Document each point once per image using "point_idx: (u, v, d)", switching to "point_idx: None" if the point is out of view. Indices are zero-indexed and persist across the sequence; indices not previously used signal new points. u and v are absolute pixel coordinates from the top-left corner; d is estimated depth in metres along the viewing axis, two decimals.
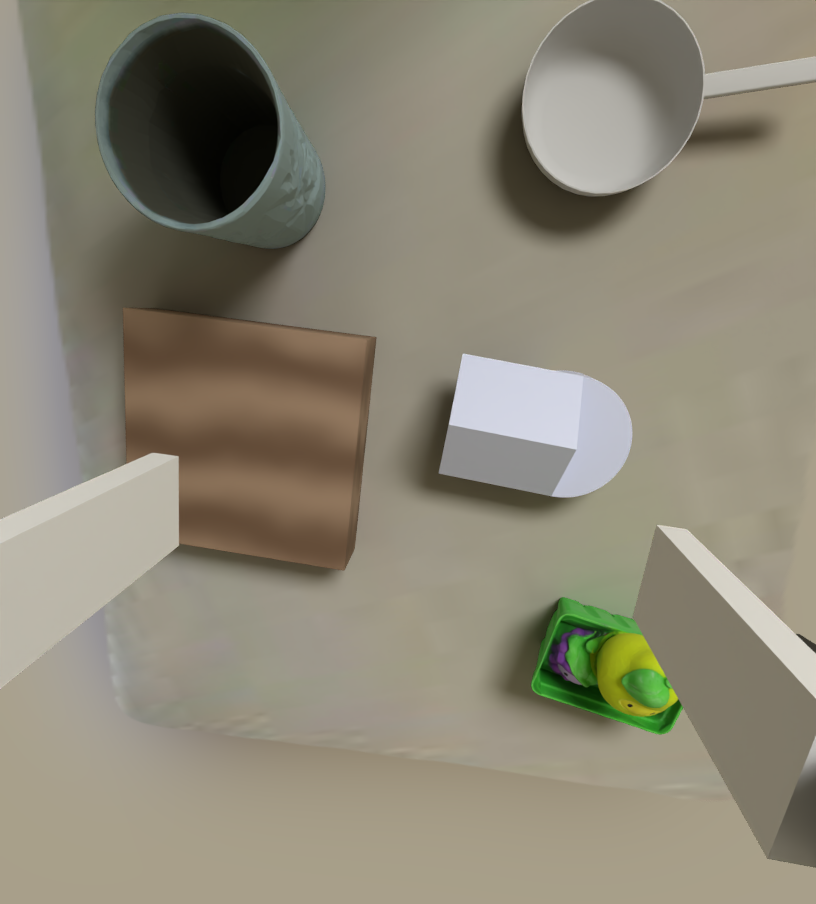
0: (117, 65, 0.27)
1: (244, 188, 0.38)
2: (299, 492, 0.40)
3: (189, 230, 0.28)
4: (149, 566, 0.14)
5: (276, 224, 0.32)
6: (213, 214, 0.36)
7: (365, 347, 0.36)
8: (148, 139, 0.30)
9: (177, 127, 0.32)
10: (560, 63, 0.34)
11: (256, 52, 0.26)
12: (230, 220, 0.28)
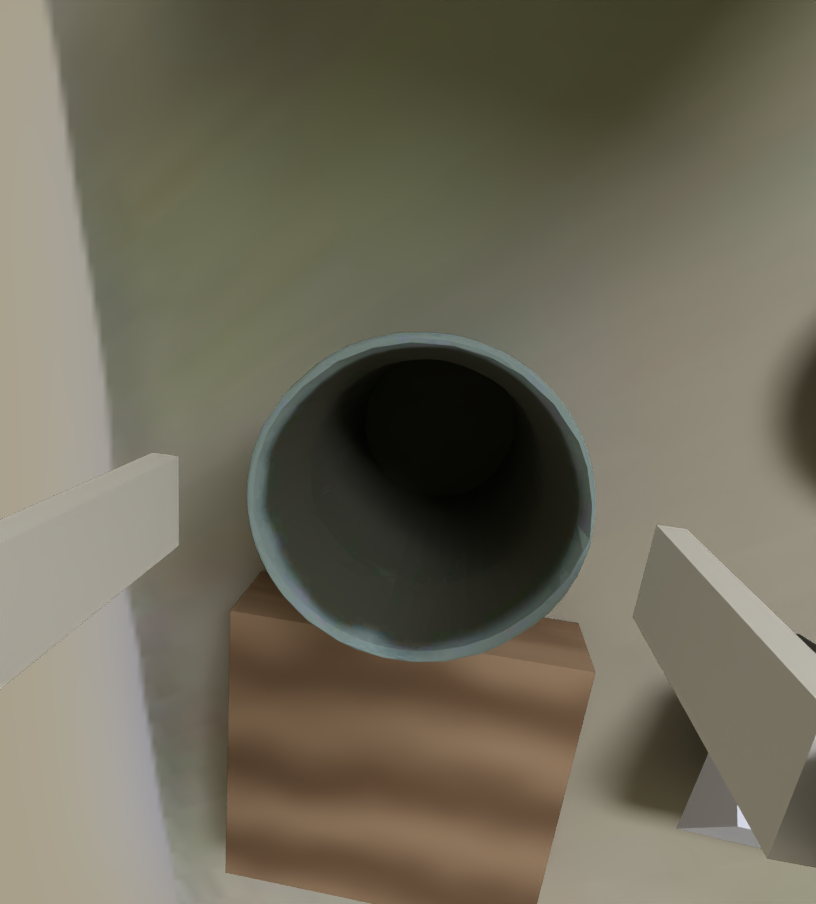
0: (290, 406, 0.15)
1: (401, 431, 0.26)
2: (472, 845, 0.28)
3: (402, 660, 0.16)
4: (149, 566, 0.14)
5: None
6: (370, 495, 0.24)
7: (591, 681, 0.25)
8: (310, 461, 0.18)
9: (339, 408, 0.20)
10: None
11: (560, 403, 0.14)
12: (479, 653, 0.16)
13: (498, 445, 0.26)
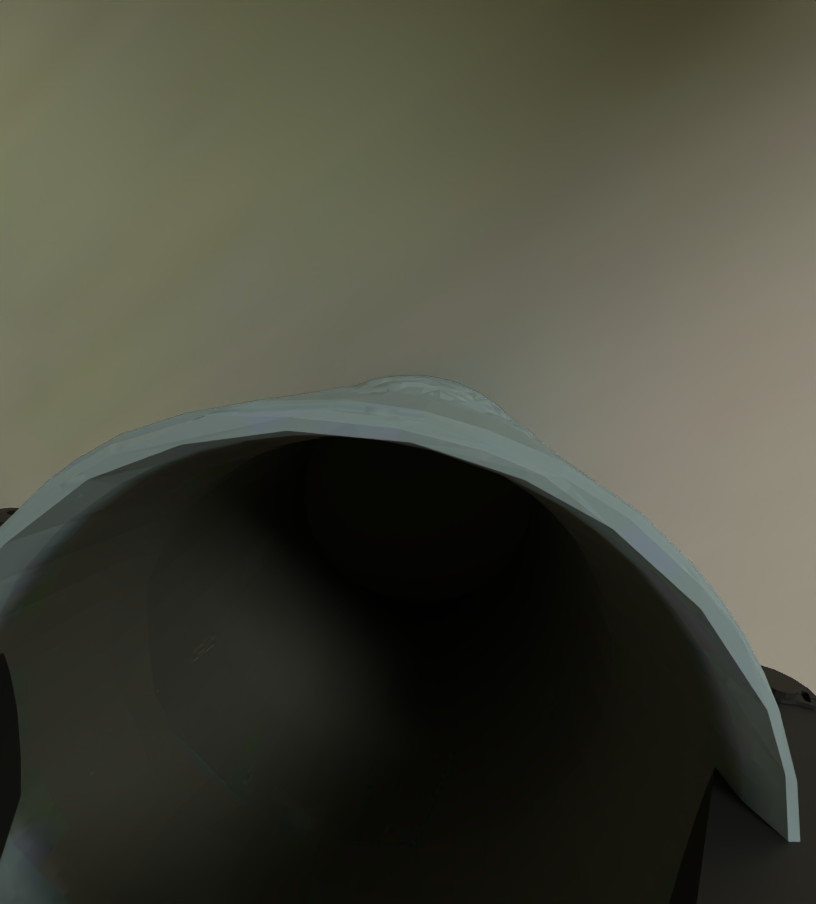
0: (0, 579, 0.06)
1: (358, 506, 0.17)
2: None
3: None
4: None
5: None
6: (303, 620, 0.15)
7: None
8: (147, 625, 0.09)
9: (227, 502, 0.11)
10: None
11: (716, 605, 0.05)
12: None
13: (506, 529, 0.17)
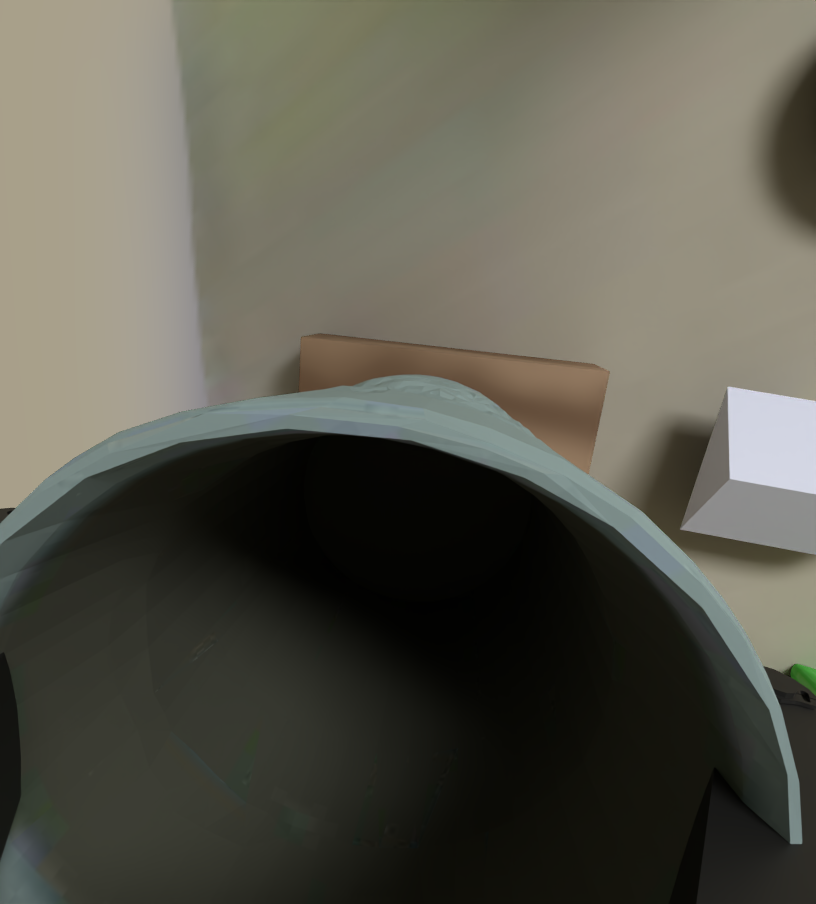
0: None
1: (358, 506, 0.17)
2: None
3: None
4: None
5: None
6: (303, 620, 0.15)
7: (606, 381, 0.30)
8: (146, 624, 0.09)
9: (227, 501, 0.11)
10: None
11: (718, 604, 0.05)
12: None
13: (506, 528, 0.17)
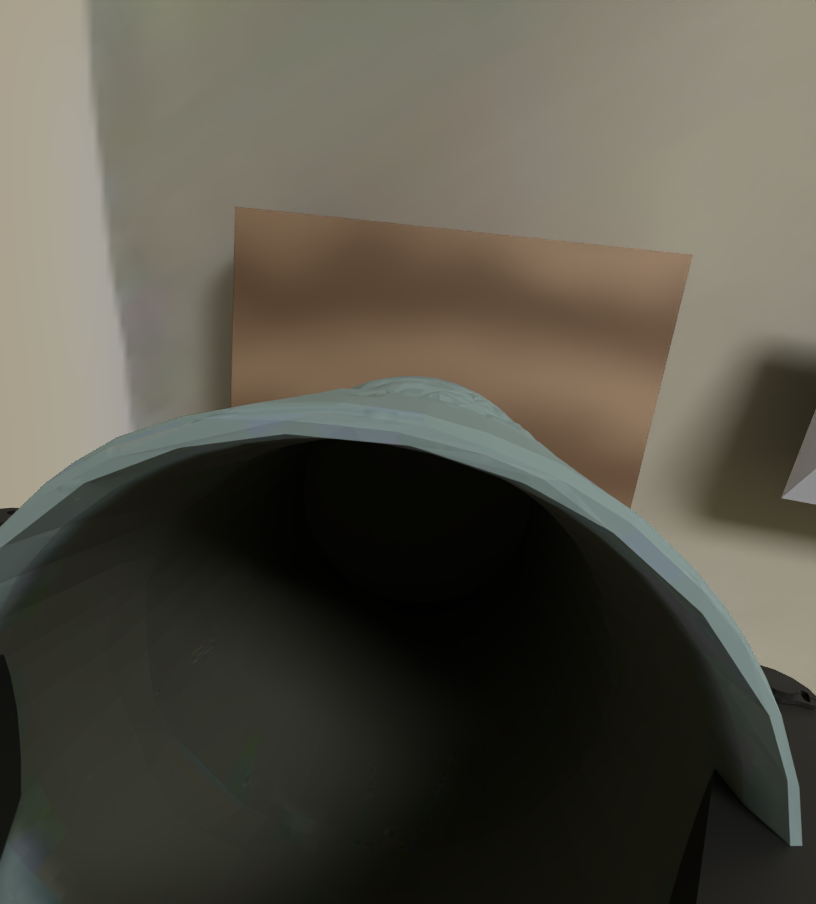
0: None
1: (358, 507, 0.17)
2: None
3: None
4: None
5: None
6: (302, 622, 0.15)
7: (686, 270, 0.20)
8: (146, 627, 0.09)
9: (227, 504, 0.11)
10: None
11: (718, 610, 0.05)
12: None
13: (506, 530, 0.17)
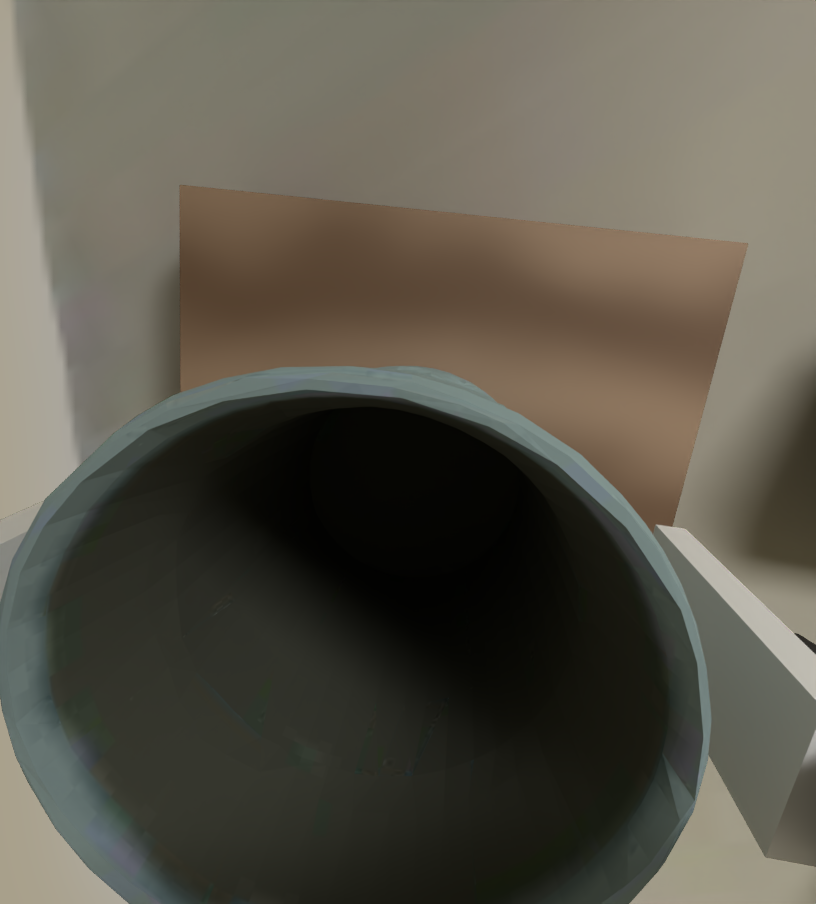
0: (71, 515, 0.07)
1: (359, 488, 0.19)
2: None
3: None
4: None
5: None
6: (309, 589, 0.16)
7: (740, 263, 0.16)
8: (175, 576, 0.11)
9: (243, 475, 0.13)
10: None
11: (639, 526, 0.06)
12: None
13: (496, 509, 0.18)
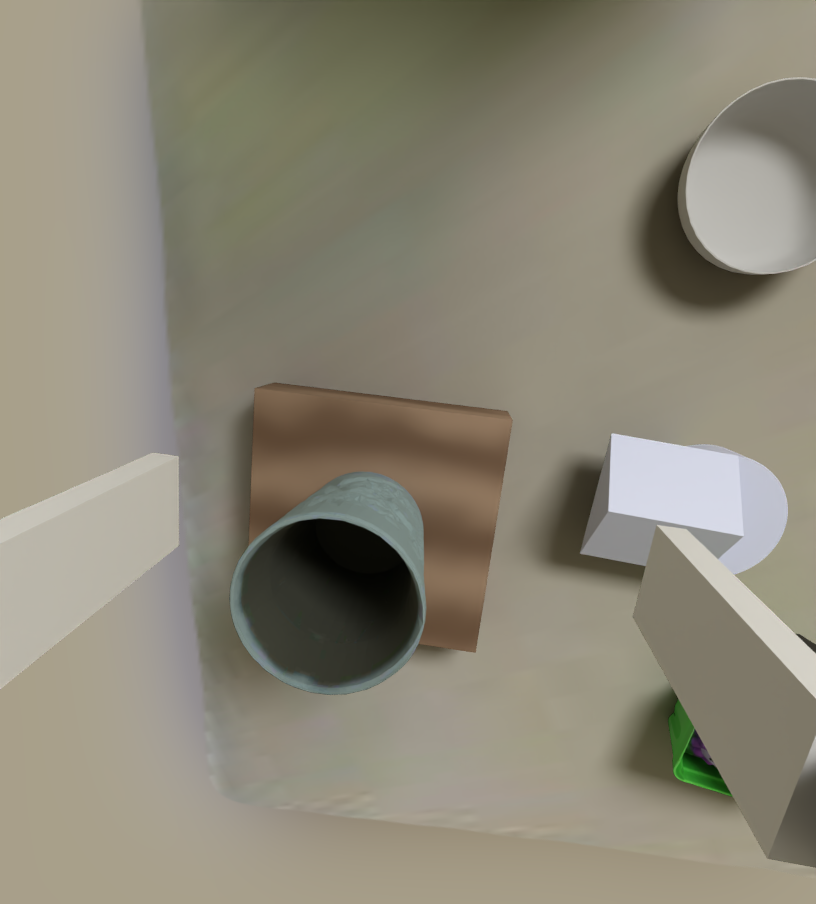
0: (254, 548, 0.26)
1: (340, 529, 0.38)
2: (431, 574, 0.38)
3: (322, 693, 0.27)
4: (149, 566, 0.14)
5: None
6: (316, 578, 0.35)
7: (510, 428, 0.35)
8: (270, 568, 0.30)
9: (290, 529, 0.32)
10: (714, 141, 0.33)
11: (401, 550, 0.25)
12: (366, 689, 0.27)
13: None
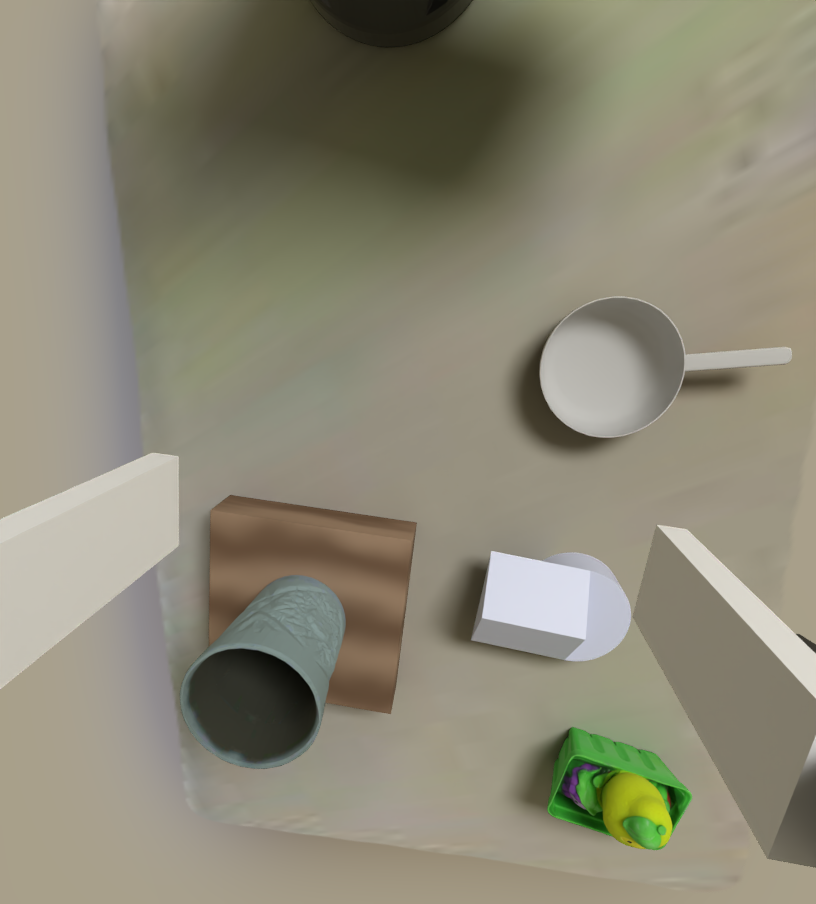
0: (197, 665, 0.36)
1: None
2: (354, 653, 0.48)
3: (249, 767, 0.37)
4: (149, 566, 0.14)
5: None
6: (257, 662, 0.45)
7: (411, 546, 0.45)
8: (214, 668, 0.39)
9: None
10: (569, 326, 0.42)
11: (301, 672, 0.35)
12: (280, 765, 0.37)
13: None
